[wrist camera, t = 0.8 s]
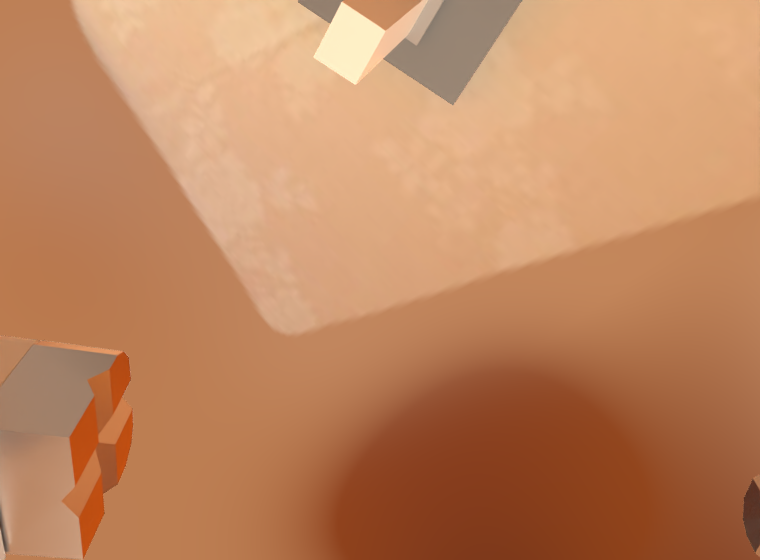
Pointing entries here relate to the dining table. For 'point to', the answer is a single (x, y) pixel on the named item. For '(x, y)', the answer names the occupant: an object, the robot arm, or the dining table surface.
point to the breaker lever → (372, 33)
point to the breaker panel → (443, 42)
